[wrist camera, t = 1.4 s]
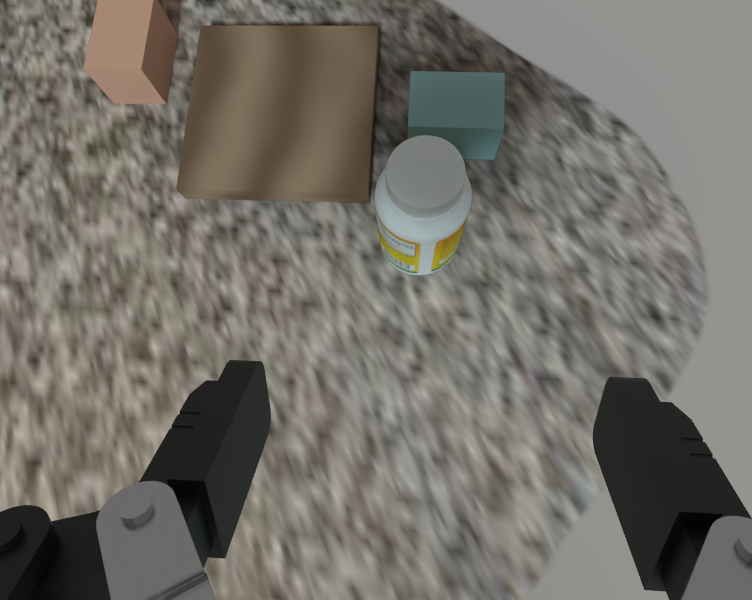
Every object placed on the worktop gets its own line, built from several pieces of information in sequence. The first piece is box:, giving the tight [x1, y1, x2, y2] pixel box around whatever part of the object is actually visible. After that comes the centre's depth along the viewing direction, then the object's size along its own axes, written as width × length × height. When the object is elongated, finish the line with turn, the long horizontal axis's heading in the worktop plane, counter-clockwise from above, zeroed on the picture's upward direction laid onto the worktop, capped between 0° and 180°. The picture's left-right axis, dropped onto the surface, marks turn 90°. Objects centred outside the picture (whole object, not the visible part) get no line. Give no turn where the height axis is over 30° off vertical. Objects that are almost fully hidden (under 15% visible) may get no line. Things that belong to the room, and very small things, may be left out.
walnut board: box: [176, 26, 379, 203], centre depth 37 cm, size 13×13×2 cm
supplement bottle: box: [375, 135, 472, 275], centre depth 31 cm, size 5×5×10 cm
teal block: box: [408, 71, 505, 160], centre depth 35 cm, size 6×4×4 cm, turn 86°
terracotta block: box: [84, 0, 178, 104], centre depth 38 cm, size 6×4×4 cm, turn 177°
